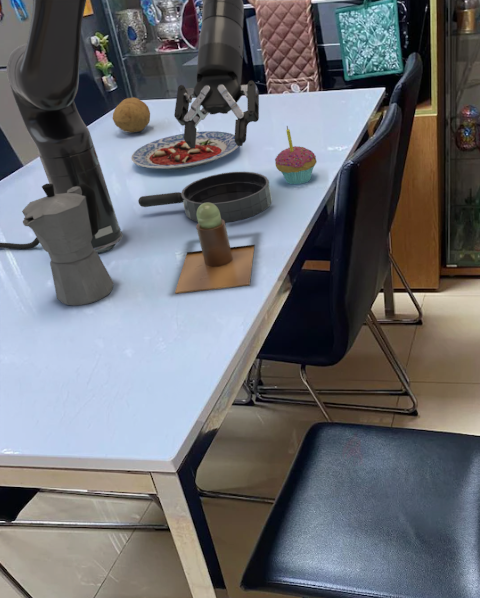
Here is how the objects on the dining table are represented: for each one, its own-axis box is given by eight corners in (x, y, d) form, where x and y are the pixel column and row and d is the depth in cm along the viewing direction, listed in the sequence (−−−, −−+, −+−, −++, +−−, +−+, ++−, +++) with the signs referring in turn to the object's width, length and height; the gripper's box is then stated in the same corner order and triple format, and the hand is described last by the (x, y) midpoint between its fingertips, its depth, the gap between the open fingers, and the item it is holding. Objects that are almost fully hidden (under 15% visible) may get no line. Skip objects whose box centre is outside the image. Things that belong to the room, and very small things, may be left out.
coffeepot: (84, 315, 110) (41, 202, 99) (37, 309, 114) (-9, 199, 102) (140, 271, 121) (108, 164, 110) (96, 266, 124) (60, 162, 113)
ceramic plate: (168, 185, 155) (164, 171, 153) (115, 163, 171) (111, 150, 169) (262, 151, 167) (260, 138, 165) (205, 134, 183) (202, 122, 181)
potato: (154, 121, 197) (147, 90, 192) (153, 135, 187) (144, 103, 182) (119, 126, 197) (110, 96, 192) (116, 141, 186) (106, 108, 181)
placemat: (175, 293, 113) (175, 292, 113) (190, 242, 129) (190, 240, 129) (249, 285, 113) (249, 283, 113) (256, 234, 129) (255, 233, 128)
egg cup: (199, 265, 120) (185, 208, 114) (213, 253, 123) (200, 197, 117) (224, 267, 118) (211, 209, 112) (237, 255, 122) (225, 198, 115)
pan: (181, 231, 133) (175, 208, 130) (192, 198, 146) (187, 177, 144) (270, 221, 133) (266, 198, 130) (273, 189, 146) (270, 167, 143)
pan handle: (139, 209, 138) (136, 199, 136) (141, 205, 139) (138, 195, 138) (184, 203, 137) (182, 193, 136) (186, 200, 139) (183, 190, 138)
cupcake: (313, 190, 144) (305, 128, 136) (273, 191, 145) (263, 130, 138) (322, 175, 150) (315, 115, 142) (284, 176, 152) (275, 117, 144)
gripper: (172, 43, 119) (165, 135, 117) (253, 37, 116) (247, 131, 115) (190, 70, 126) (184, 157, 125) (267, 65, 124) (261, 154, 122)
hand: (214, 145), depth 120 cm, fingers open, 8 cm apart
